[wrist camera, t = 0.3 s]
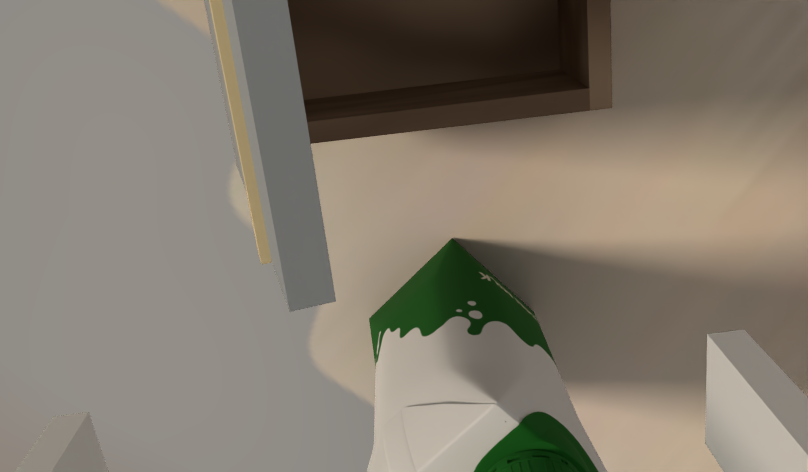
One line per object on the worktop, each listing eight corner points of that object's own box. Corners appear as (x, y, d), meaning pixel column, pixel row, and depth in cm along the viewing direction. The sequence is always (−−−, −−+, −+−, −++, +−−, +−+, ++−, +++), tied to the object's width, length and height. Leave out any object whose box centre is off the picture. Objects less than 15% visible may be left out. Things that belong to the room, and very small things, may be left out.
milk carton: (554, 310, 46) (674, 559, 27) (448, 405, 48) (491, 697, 29) (451, 216, 43) (503, 415, 25) (345, 320, 45) (318, 576, 27)
